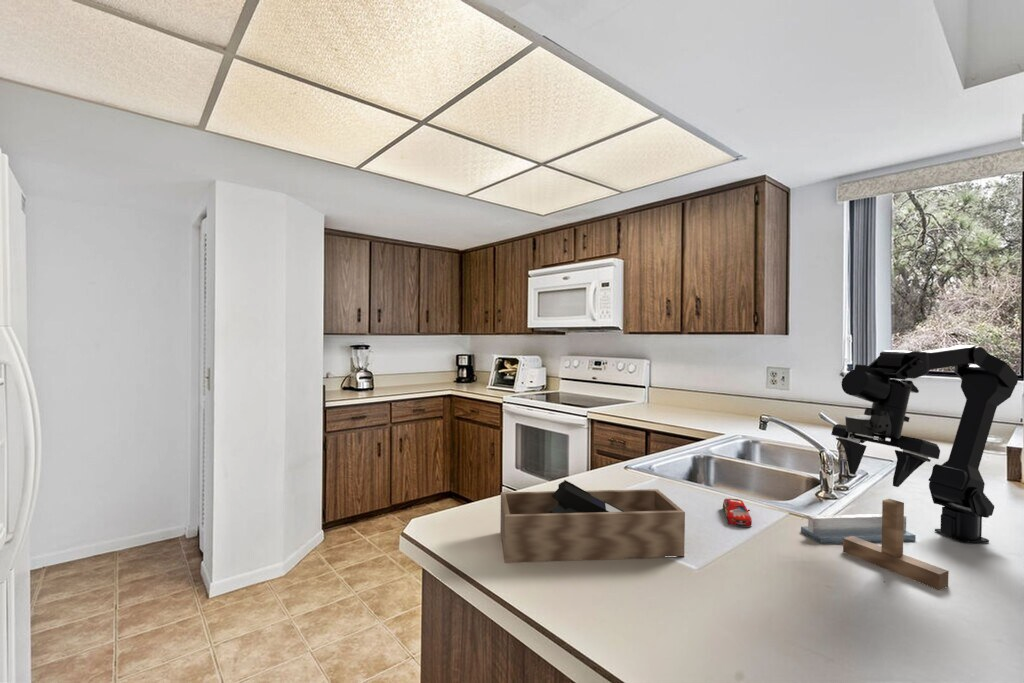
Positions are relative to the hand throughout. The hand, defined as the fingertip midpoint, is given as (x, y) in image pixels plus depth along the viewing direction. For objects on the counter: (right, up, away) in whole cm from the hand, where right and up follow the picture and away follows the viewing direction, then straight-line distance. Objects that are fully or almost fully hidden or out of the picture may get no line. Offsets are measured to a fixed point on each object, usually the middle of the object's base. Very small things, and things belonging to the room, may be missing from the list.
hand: (872, 480), depth 99 cm
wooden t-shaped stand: (-3, -15, -8) cm, 17 cm away
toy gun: (-59, -14, +1) cm, 61 cm away
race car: (-21, -14, +16) cm, 30 cm away
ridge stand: (+1, -14, +6) cm, 16 cm away
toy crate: (-60, -14, +1) cm, 61 cm away
